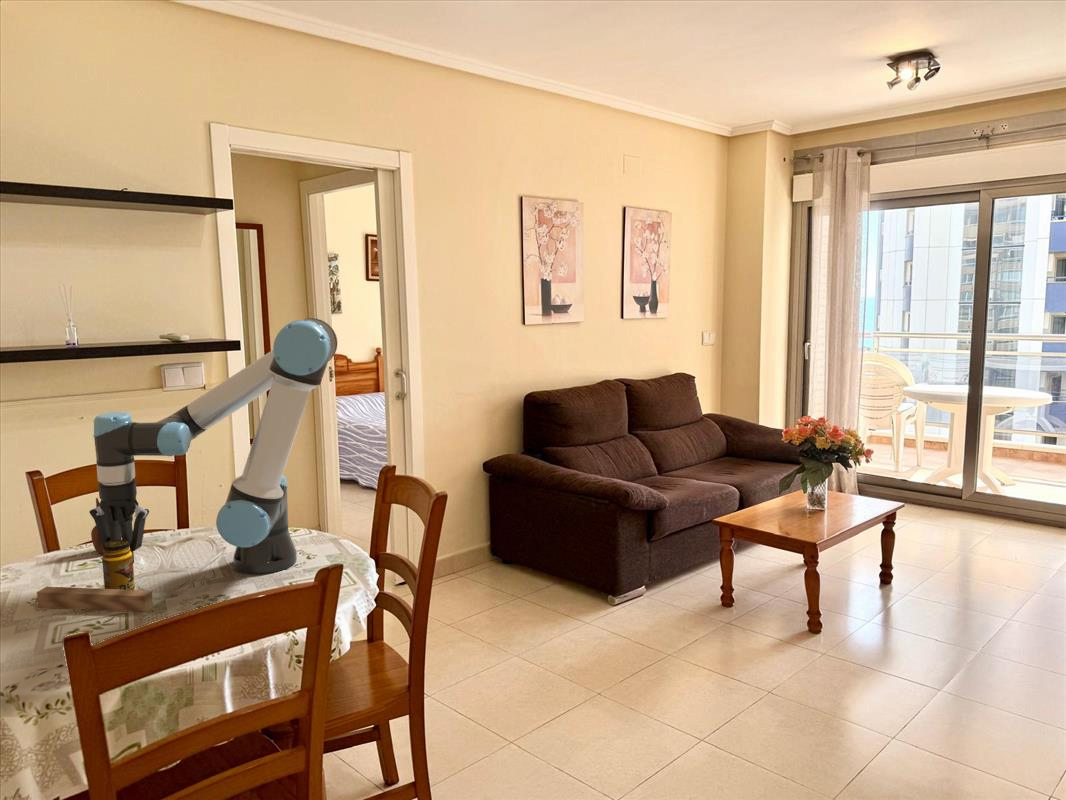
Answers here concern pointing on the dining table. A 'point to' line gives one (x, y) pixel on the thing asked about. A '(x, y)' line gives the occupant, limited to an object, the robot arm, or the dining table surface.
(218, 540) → the dining table surface
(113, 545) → the condiment
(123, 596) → the board
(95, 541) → the wooden figurine
